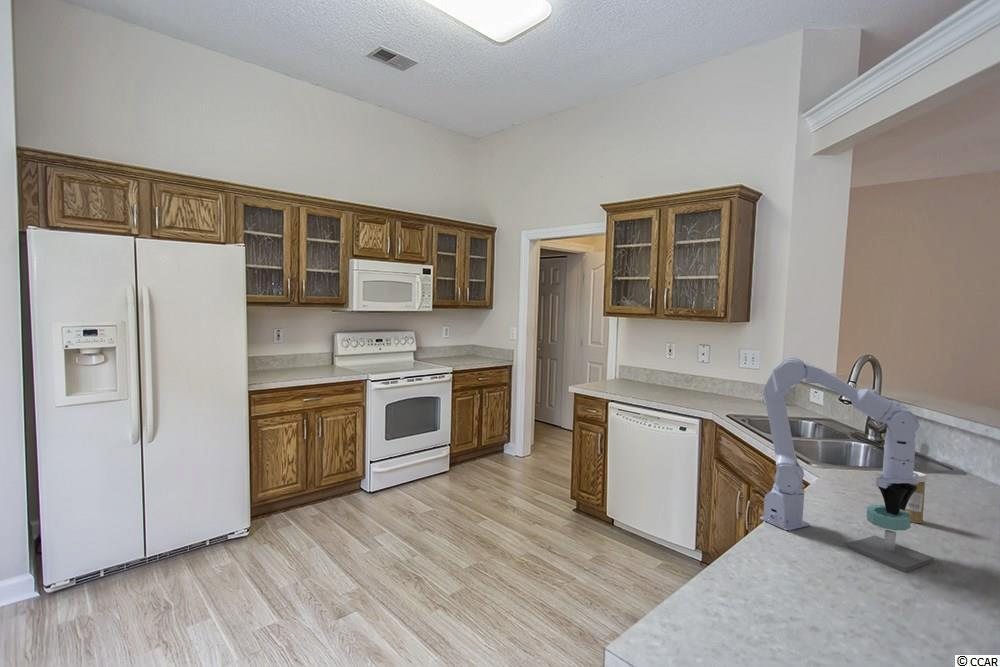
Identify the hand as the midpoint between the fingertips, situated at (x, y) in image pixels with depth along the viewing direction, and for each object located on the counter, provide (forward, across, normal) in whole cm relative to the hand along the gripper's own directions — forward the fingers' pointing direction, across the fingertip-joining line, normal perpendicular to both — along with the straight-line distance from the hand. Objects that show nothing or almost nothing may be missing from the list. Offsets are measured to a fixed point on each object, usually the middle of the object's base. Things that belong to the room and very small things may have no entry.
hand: (894, 513), depth 117 cm
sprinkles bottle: (+9, +25, +7) cm, 27 cm away
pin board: (+8, -6, -2) cm, 10 cm away
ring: (+2, -3, 0) cm, 3 cm away
